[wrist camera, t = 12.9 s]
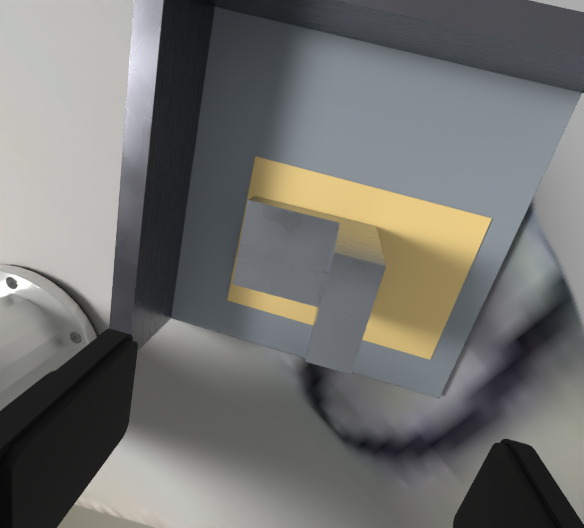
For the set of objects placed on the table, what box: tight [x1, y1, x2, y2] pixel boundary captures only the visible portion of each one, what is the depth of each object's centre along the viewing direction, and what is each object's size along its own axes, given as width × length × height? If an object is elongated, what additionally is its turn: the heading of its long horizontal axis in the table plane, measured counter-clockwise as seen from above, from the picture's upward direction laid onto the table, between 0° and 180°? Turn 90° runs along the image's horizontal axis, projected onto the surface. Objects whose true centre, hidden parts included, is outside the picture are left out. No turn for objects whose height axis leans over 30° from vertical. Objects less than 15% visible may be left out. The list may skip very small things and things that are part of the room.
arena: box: [109, 0, 584, 398], centre depth 19 cm, size 19×19×6 cm
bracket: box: [233, 196, 386, 374], centre depth 18 cm, size 7×5×7 cm
